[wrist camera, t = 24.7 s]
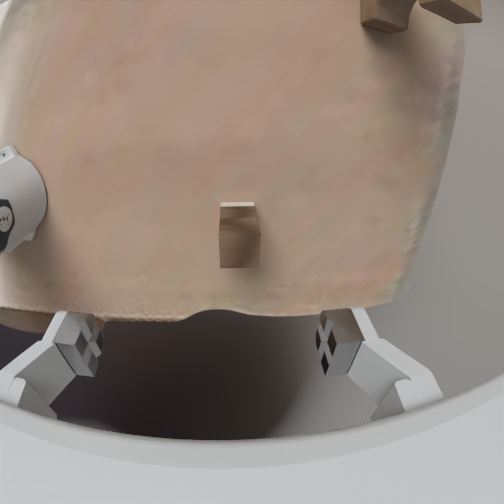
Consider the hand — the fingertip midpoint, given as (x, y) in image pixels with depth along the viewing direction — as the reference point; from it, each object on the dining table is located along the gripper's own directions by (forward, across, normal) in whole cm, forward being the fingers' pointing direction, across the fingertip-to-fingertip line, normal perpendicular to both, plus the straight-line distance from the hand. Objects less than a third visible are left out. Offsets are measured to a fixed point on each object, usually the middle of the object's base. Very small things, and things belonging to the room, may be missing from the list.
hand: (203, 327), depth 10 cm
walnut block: (+24, +2, -12) cm, 27 cm away
